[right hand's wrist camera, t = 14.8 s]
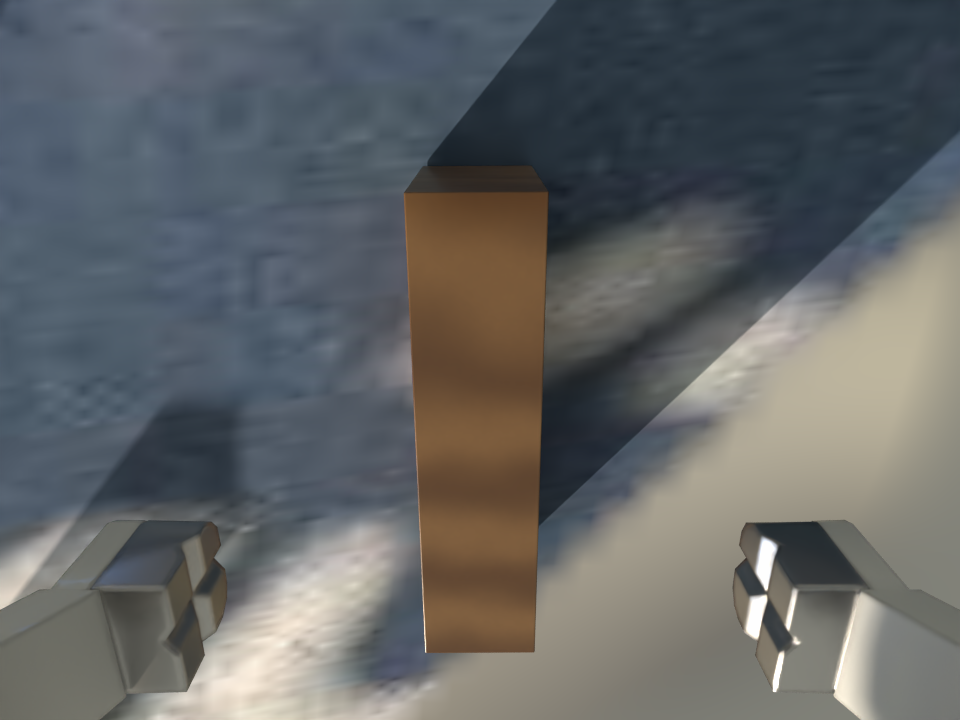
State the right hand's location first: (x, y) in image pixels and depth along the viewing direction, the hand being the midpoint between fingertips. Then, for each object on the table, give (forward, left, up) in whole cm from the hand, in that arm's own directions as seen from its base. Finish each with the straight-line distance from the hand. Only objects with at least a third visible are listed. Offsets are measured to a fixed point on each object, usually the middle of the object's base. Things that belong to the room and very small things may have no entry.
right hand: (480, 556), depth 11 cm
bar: (+6, +5, -26) cm, 27 cm away
